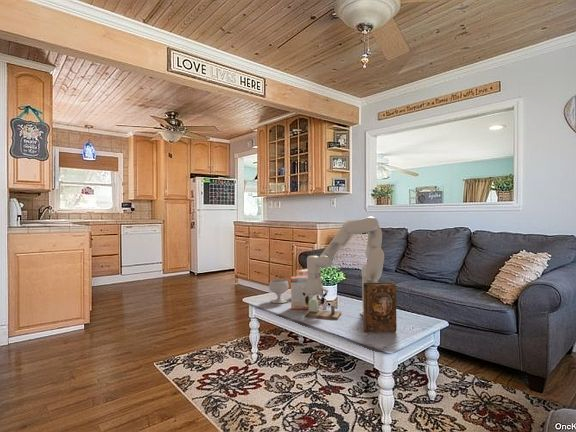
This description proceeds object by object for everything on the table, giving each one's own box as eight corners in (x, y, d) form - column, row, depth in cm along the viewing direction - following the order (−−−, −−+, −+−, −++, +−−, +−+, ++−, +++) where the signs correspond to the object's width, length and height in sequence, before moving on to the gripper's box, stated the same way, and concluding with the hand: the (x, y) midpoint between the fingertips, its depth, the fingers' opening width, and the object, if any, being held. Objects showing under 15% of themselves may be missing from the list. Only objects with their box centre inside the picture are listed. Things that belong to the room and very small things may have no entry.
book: (365, 333, 183) (364, 285, 182) (362, 329, 188) (362, 283, 188) (396, 332, 183) (396, 284, 183) (393, 328, 189) (392, 282, 188)
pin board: (341, 314, 217) (341, 303, 217) (337, 319, 205) (337, 308, 205) (310, 311, 223) (310, 301, 223) (304, 316, 212) (304, 306, 212)
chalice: (282, 305, 239) (282, 283, 239) (265, 302, 246) (265, 281, 246) (292, 300, 251) (292, 279, 251) (275, 298, 258) (275, 278, 258)
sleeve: (319, 311, 218) (318, 300, 218) (316, 313, 213) (316, 302, 213) (310, 310, 220) (310, 299, 220) (308, 313, 215) (308, 301, 215)
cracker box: (313, 307, 233) (312, 276, 233) (312, 309, 227) (312, 277, 227) (291, 307, 234) (291, 275, 234) (291, 309, 228) (290, 277, 228)
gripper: (328, 275, 217) (330, 302, 217) (302, 274, 223) (303, 301, 223) (326, 277, 210) (327, 305, 210) (298, 276, 216) (299, 304, 216)
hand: (315, 303), depth 216 cm, fingers open, 9 cm apart
